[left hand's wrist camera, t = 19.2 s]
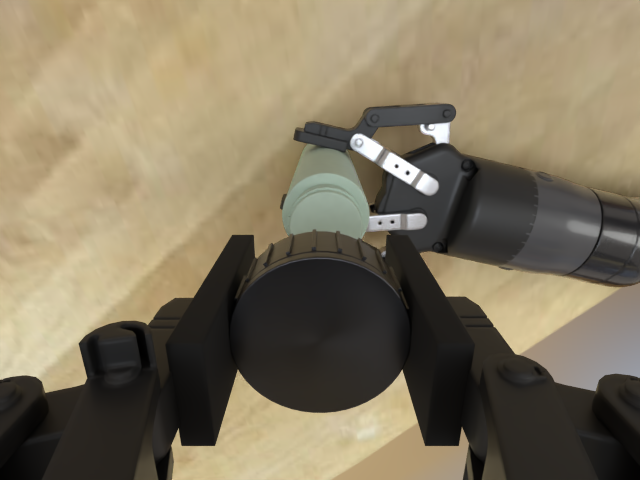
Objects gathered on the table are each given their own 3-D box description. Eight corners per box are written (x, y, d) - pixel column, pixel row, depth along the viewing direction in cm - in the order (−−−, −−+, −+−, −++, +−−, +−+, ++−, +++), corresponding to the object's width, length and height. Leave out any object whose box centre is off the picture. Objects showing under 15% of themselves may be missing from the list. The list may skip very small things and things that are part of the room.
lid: (364, 386, 13) (371, 433, 11) (221, 345, 13) (204, 387, 11) (427, 259, 12) (447, 291, 10) (266, 204, 11) (255, 227, 9)
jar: (330, 125, 34) (335, 160, 17) (360, 166, 35) (392, 236, 18) (290, 156, 35) (258, 219, 18) (320, 195, 36) (317, 287, 19)
